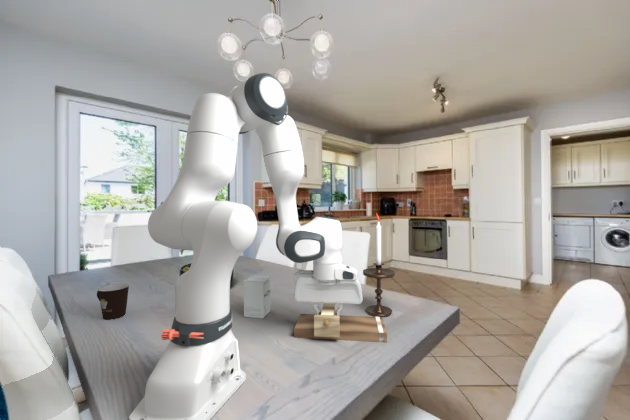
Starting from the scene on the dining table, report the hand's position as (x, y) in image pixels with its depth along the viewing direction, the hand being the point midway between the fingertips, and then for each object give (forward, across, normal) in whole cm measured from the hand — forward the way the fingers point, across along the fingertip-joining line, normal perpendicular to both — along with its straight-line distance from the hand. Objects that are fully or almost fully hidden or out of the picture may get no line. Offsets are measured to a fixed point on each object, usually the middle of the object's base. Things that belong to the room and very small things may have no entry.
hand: (328, 317), depth 83 cm
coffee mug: (+5, -75, +5) cm, 76 cm away
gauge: (+3, 0, -1) cm, 3 cm away
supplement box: (+5, -26, +11) cm, 28 cm away
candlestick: (+5, +16, +17) cm, 24 cm away
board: (+5, +4, +1) cm, 6 cm away
